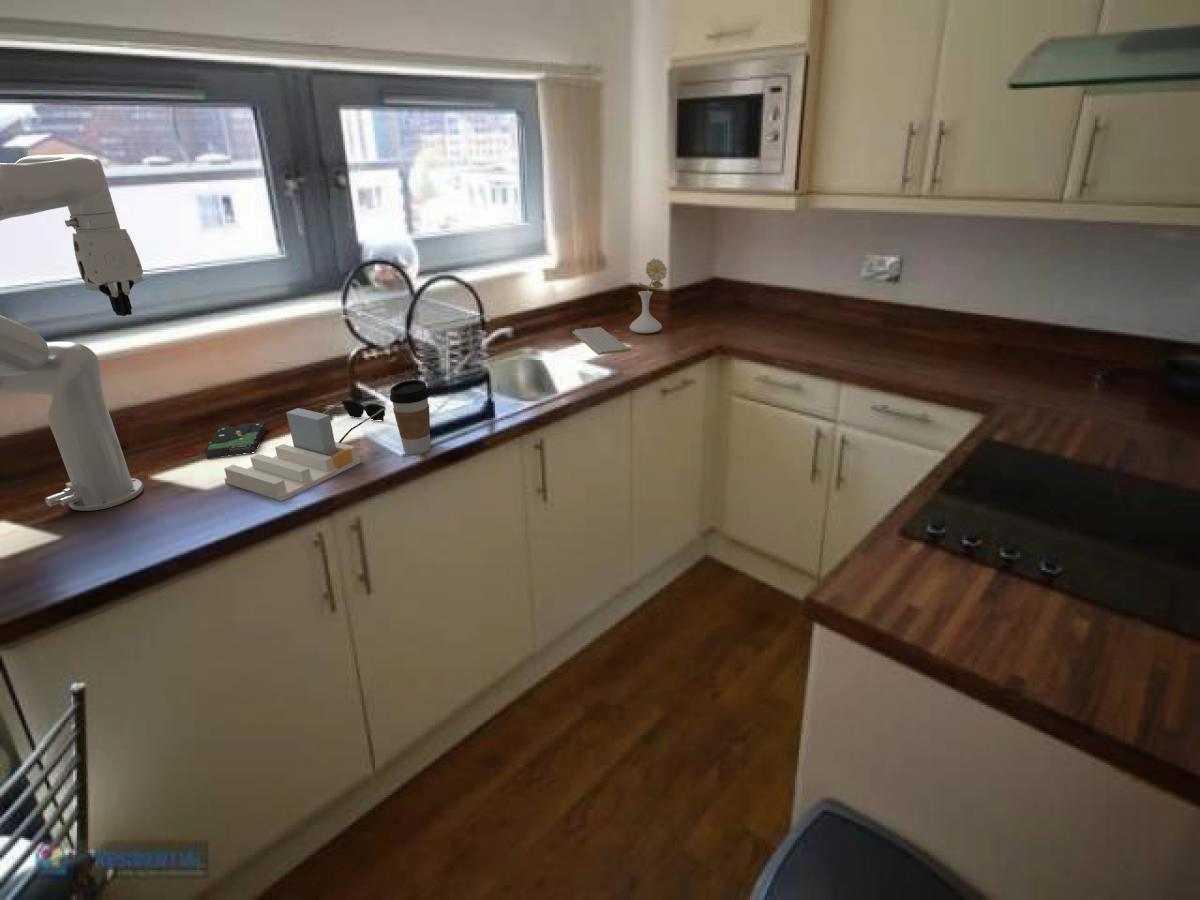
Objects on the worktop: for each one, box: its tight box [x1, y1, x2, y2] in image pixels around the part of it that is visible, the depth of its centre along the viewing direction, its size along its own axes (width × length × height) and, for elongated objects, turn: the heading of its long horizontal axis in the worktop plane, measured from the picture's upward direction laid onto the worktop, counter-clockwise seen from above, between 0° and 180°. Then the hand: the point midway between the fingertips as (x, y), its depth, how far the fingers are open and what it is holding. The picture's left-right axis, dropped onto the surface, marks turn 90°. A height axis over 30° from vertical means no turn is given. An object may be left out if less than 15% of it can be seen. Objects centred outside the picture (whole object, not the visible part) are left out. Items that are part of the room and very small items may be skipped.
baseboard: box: [568, 324, 630, 356], centre depth 238 cm, size 31×3×12 cm
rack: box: [223, 441, 362, 502], centre depth 149 cm, size 20×18×4 cm
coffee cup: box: [389, 379, 432, 455], centre depth 156 cm, size 8×8×15 cm
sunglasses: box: [322, 399, 387, 443], centre depth 170 cm, size 14×16×5 cm
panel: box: [286, 407, 337, 457], centre depth 152 cm, size 3×10×10 cm, turn 60°
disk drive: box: [204, 421, 267, 459], centre depth 165 cm, size 10×3×15 cm
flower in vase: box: [629, 258, 668, 334], centre depth 243 cm, size 13×11×25 cm
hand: (124, 314), depth 147 cm, fingers closed
